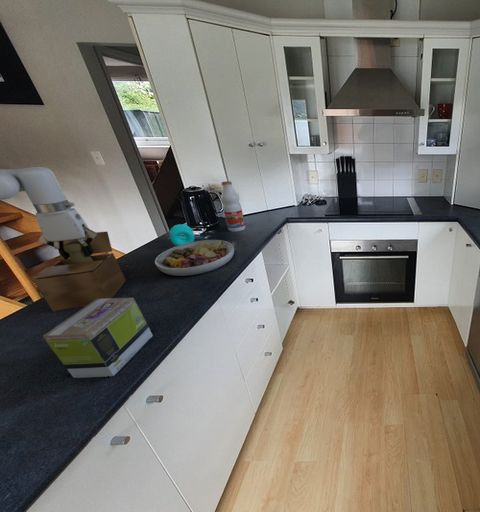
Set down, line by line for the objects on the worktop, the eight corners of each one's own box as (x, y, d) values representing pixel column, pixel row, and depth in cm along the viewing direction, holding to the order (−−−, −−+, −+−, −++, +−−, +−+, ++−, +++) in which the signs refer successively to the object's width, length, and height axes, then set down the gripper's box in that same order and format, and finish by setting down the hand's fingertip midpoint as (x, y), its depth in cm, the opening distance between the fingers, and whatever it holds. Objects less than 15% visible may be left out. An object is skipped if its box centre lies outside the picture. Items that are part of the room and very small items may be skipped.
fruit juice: (245, 225, 169) (235, 180, 157) (246, 230, 162) (235, 183, 149) (228, 227, 166) (217, 181, 153) (228, 233, 158) (216, 184, 146)
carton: (52, 311, 92) (31, 278, 86) (77, 287, 105) (60, 257, 99) (109, 302, 97) (92, 269, 91) (125, 280, 110) (112, 251, 104)
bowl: (155, 260, 126) (149, 244, 123) (226, 243, 144) (222, 230, 141) (163, 287, 106) (156, 270, 103) (244, 264, 124) (240, 249, 121)
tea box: (119, 337, 82) (97, 296, 75) (154, 336, 83) (135, 296, 76) (71, 379, 69) (39, 334, 62) (113, 377, 69) (87, 333, 63)
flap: (54, 236, 98) (55, 236, 98) (60, 257, 99) (61, 257, 99) (106, 231, 103) (107, 231, 104) (111, 251, 104) (112, 251, 105)
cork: (70, 272, 98) (54, 245, 93) (90, 265, 103) (76, 238, 98) (83, 275, 97) (67, 247, 92) (102, 267, 102) (88, 240, 97)
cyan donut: (173, 249, 136) (167, 231, 132) (173, 243, 144) (166, 225, 139) (197, 245, 142) (191, 227, 137) (195, 239, 149) (190, 221, 145)
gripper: (92, 202, 96) (114, 248, 104) (24, 206, 89) (53, 255, 98) (81, 207, 90) (105, 256, 98) (7, 213, 83) (40, 264, 91)
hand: (79, 255), depth 98 cm, fingers closed on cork, 5 cm apart
